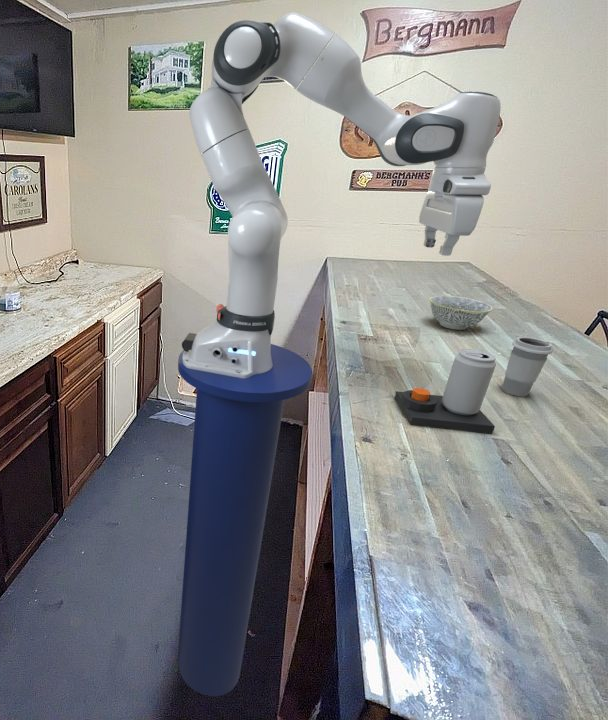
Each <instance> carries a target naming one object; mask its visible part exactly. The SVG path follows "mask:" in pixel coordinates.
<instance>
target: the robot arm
mask: <svg viewBox="0 0 608 720" xmlns="http://www.w3.org/2000/svg"><path fill="white" fill-rule="evenodd" d="M270 77H271V78H277V79H279V80H281V81H284V82H285V83H287V84H288V85H289V86H290V87H291V88H293V89H294V90H296V92H298V93H300V94H301V95H302V96H304V97H305V98H307V99H309V100H310V101H312V102H313V103H316V104H317V105H320V106H323V107H325V108H327V109H329V110H331V111H333V112H336V113H337V114H340V115H342V116H343V117H344V118H346V119H347V120H348V121H349V122H350V123H352V124H353V125H354V126H356V128H358V129H359V130H360V131H362V132H363V133H364V134H366V135H367V136H368V137H369V138H370V139H371V140H372V141H373V143H374V145H375V147H376V149H377V151H378V154H379V156H380V157H381V159H382V160H383V161H384V162H385V163H386V164H387V165H389V166H393V167H406V166H420V165H424V164H427V163H430V162H433V164H434V165H433V169H432V173H431V176H430V180H429V183H428V188H427V193H426V195H425V197H424V200H423V203H422V206H421V210H420V212H419V216H418V217H419V218H418V219H419V220H418V223H419V224H422V225H424V226H425V227H424V241H423V247H426V248H430V249H431V248H434V247H435V245H436V242H437V239H436V233H437V232H438V231H440V232H443V233H445V235H444V242H443V244H442V245H440V248H439V251H438V254H439V255H441V256H445V257H446V256H447V257H449V256H451V255H452V253H453V250H454V247H455V246H456V244H457V243H458V241H459V240H460V237H461V236H463V237H465V236H467V237H468V236H470V235H471V234H472V233H473V232H474V231H475V229H476V227H477V224H478V221H479V219H480V215H481V214H482V210H483V206H484V203H485V198H484V196H488V195H489V193H490V191H491V188H492V183H491V182H490V180H488V179H487V177H486V174H485V172H486V168H487V157H488V153H489V151H490V149H491V147H492V146H493V144H494V141H495V137H496V135H497V134H496V133H497V130H498V125H499V122H500V116H501V110H502V109H501V106H502V105H501V100H500V99H499V98H498V96H496V95H494V94H492V93H489V92H484V91H463V92H459V93H458V94H457V93H456V95H455V96H453V97H452V98H450V99H449V100H446V101H445V102H443V103H440V104H438V105H436V106H435V107H432V108H429V109H427V110H424V111H421V112H417V113H414V114H411V115H409V114H408V115H407V114H402V113H399V112H397V111H395V110H394V109H393V108H391V107H390V106H389V105H388V104H387V103H385V102H384V101H383V100H382V99H381V98H379V97H378V96H377V95H376V94H375V93H373V92H372V91H371V90H370V89H369V88H368V86H367V85H366V83H365V81H364V77H363V72H362V63H361V58H360V56H359V54H357V52H356V51H355V50H354V48H353V47H352V46H351V45H350V44H349V42H347V41H346V40H345V39H343V38H342V37H341V36H340V35H338V34H337V33H335V32H334V31H333V30H331V28H329V27H327V26H325V25H324V24H322V23H320V21H317V20H315V19H313V18H311V17H309V16H307V15H304V14H302V13H299V12H297V11H290V12H288V13H285V14H284V15H282V16H281V17H280V18H278V19H277V20H276V21H275V22H274V24H272V23H271V22H265V21H263V22H262V21H261V22H260V21H259V22H258V21H255V20H247V19H246V20H245V19H244V20H239V21H236V22H233V23H232V24H230V25H229V26H228V27H227V28H225V29H224V30H223V31H222V33H221V34H220V36H219V37H218V39H217V41H216V43H215V46H214V49H213V57H212V61H211V85H210V86H209V87H208V88H207V89H206V90H204V91H202V92H201V93H199V94H198V96H197V97H196V98H194V100H193V101H192V103H191V104H190V109H189V112H188V113H189V120H190V126H191V130H192V134H193V136H194V139H195V144H196V146H197V149H198V151H199V154H200V156H201V159H202V161H203V163H204V166H205V169H206V170H207V173H208V176H209V177H210V181H211V183H212V185H213V187H214V190H215V192H217V194H218V195H219V197H220V198H221V199H222V201H223V202H224V203H223V204H225V206H226V208H227V210H228V211H229V213H230V215H231V219H230V222H229V224H228V228H227V240H228V241H227V253H228V254H227V255H228V257H227V258H228V259H227V260H228V284H227V295H226V305H225V306H224V304H222V303H219V304H218V305H217V306H216V309H215V312H216V321H214V322H213V323H211V324H210V325H208V326H206V327H203V328H202V329H200V330H199V331H198V332H197V333H193V332H189V333H188V334H187V335H186V336H185V338H184V339H183V341H182V342H181V348H182V349H183V350H184V353H183V358H182V362H183V364H184V366H185V367H186V368H189V369H194V370H200V371H205V372H211V373H216V374H222V375H227V376H232V377H238V378H249V377H251V376H253V375H256V374H261V373H264V372H267V371H269V370H270V369H271V368H272V366H273V364H272V358H271V344H272V342H271V340H272V339H271V338H272V334H273V331H274V326H275V319H276V316H275V314H276V313H275V310H274V309H275V301H276V294H277V287H278V277H279V273H278V272H279V258H280V247H281V241H282V238H283V236H284V235H285V234H286V231H287V228H288V223H289V220H288V214H287V212H286V210H285V208H284V205H283V203H282V201H281V198H280V196H279V194H278V191H277V190H276V188H275V186H274V184H273V182H272V179H271V177H270V176H269V174H268V172H267V170H266V168H265V165H264V163H263V160H262V158H261V156H260V153H259V151H258V148H257V146H256V143H255V140H254V138H253V135H252V132H251V130H250V128H249V126H248V124H247V123H248V122H247V121H246V119H245V115H244V112H243V111H244V110H243V104H244V103H245V102H246V101H247V100H248V99H249V98H251V97H252V96H253V94H254V93H255V92H256V90H257V89H258V87H259V85H260V83H261V82H262V81H263V80H264V78H270Z"/></svg>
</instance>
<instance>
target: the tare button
mask: <svg viewBox="0 0 608 720" xmlns="http://www.w3.org/2000/svg"><path fill="white" fill-rule="evenodd" d="M412 390H413V391H412V395H411V398H413V399H415V400H418V401H424V402H426V401H428V399H429V396H430V395H431V391H430V390H428V389H425V388H422V387H414V388H413V389H412Z"/></svg>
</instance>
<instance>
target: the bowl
mask: <svg viewBox="0 0 608 720" xmlns="http://www.w3.org/2000/svg"><path fill="white" fill-rule="evenodd" d="M428 300H429V303H430V310H431V313H432V314H431V315H433V317H434V319H435V320H437V321H438V322H439V325H440V326H441V327H444V328H447V329H450V330H458V331H464V330H466V329H467V328H468V327H472V326H475V325H477V324H479V323H480V322H481V321H483V320H484V319H485V317H486V316H487V315H489V313H490V312H492V311H493V307H492V305H490V304H489V303H486V302H483V301H481V300H476V299H473V298H469V297H463V296H455V295H435V296H431V297H429V299H428Z"/></svg>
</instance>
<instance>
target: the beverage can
mask: <svg viewBox="0 0 608 720" xmlns="http://www.w3.org/2000/svg"><path fill="white" fill-rule="evenodd" d="M496 367H497V363H496V356H495V355H493V354H491V353H489V352H488V351H484V350H480V349H473V348H462V349H460V350H459V352H458V353H457V354H456V355H455V357H454V359H453V362H452V365H451V369H450V372H449V375H448V378H447V381H446V384H445V387H444V391H443V394H442V396H443V397H442V400H441V403H442V404H443V405H444V407H445V408H446V409H447V410H449V411H451V412H453V413H456V414H461V415H473V414H476V413H478V412H479V411H480V410H481V407H482V405H483V402H484V399H485V396H486V394H487V392H488V388H489V386H490V383H491V381H492V378H493V374H494V372H495V369H496Z"/></svg>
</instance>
